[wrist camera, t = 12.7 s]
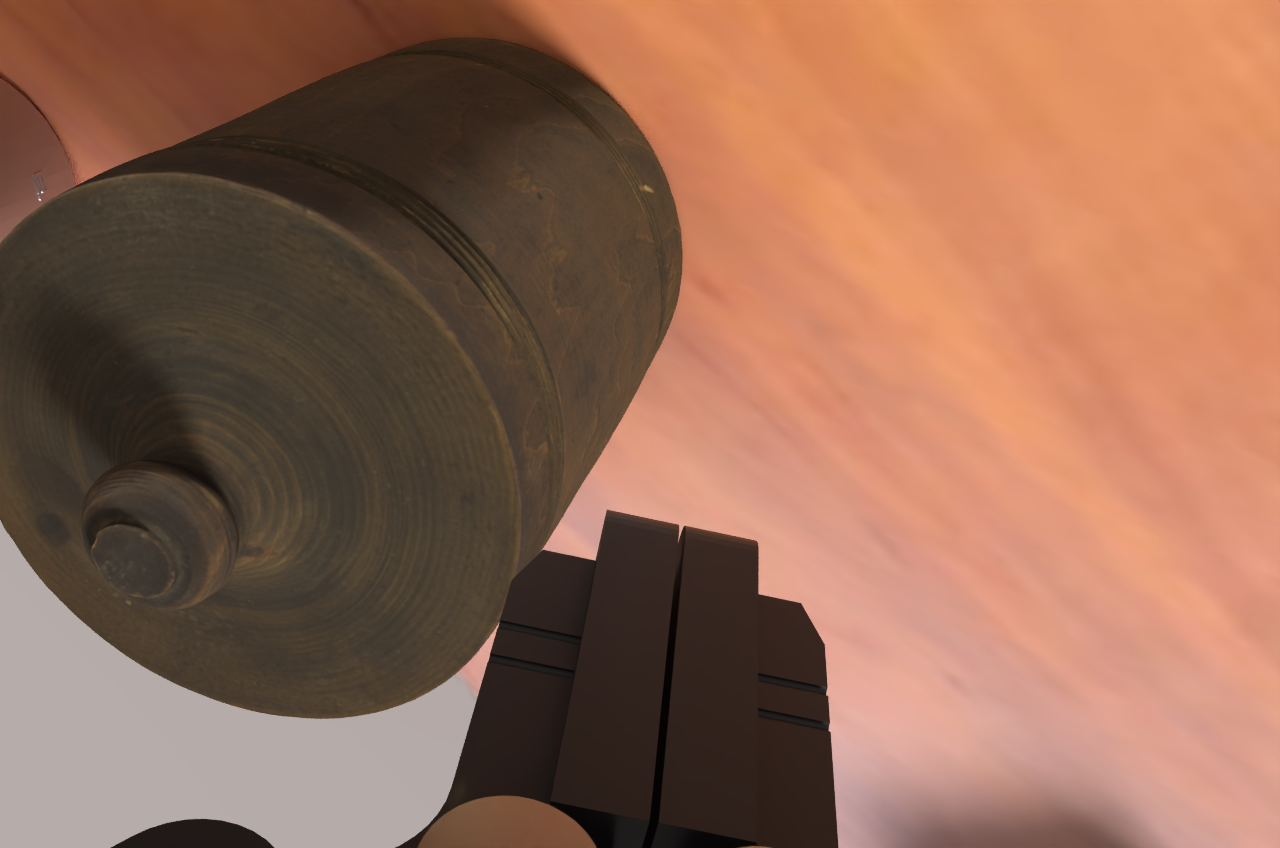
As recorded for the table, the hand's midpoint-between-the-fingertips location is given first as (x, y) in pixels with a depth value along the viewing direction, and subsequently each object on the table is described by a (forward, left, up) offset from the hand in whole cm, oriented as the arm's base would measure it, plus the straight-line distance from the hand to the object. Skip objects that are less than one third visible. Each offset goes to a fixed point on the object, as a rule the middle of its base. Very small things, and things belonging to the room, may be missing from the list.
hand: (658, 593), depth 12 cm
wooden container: (-11, -10, -30) cm, 33 cm away
